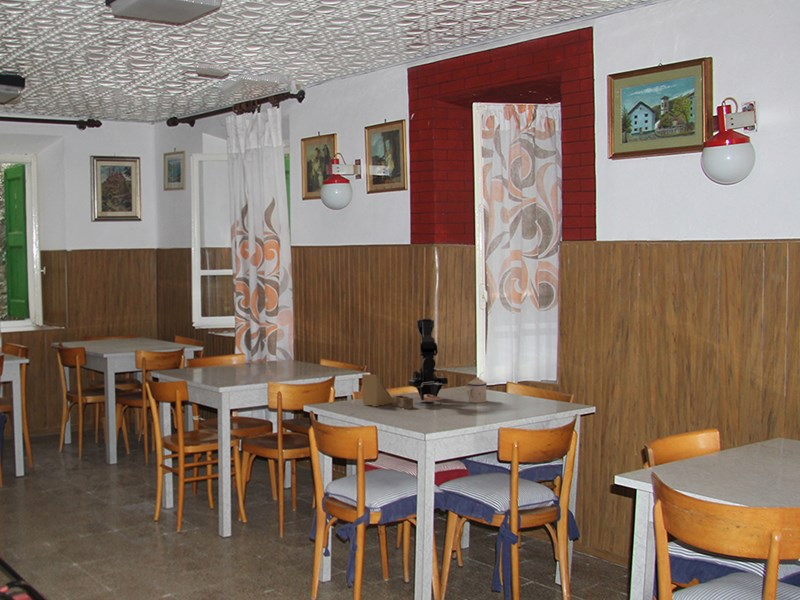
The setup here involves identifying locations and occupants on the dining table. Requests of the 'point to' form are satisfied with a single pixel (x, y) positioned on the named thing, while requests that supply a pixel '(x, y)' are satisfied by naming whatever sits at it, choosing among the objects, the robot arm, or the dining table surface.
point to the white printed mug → (476, 391)
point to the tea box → (403, 401)
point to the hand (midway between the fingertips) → (428, 399)
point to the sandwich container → (374, 391)
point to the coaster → (428, 403)
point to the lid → (429, 398)
